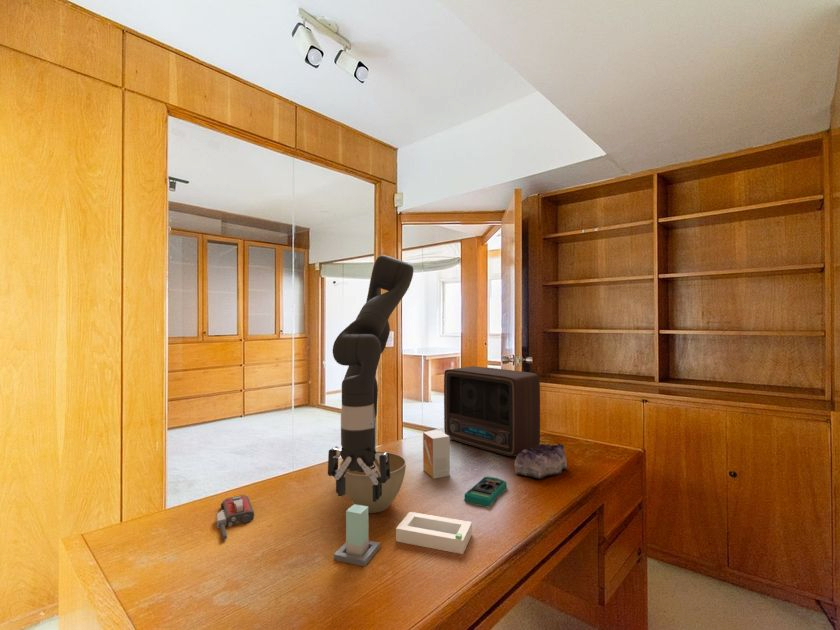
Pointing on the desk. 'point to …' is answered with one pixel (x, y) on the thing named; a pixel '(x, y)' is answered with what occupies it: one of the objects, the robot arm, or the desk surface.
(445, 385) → the radio
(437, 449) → the small box
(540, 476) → the geode
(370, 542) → the grey square ring
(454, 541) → the port panel
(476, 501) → the digital multimeter
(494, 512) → the desk surface
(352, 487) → the flower pot
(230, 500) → the walkie-talkie
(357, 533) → the plug
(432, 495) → the desk surface
